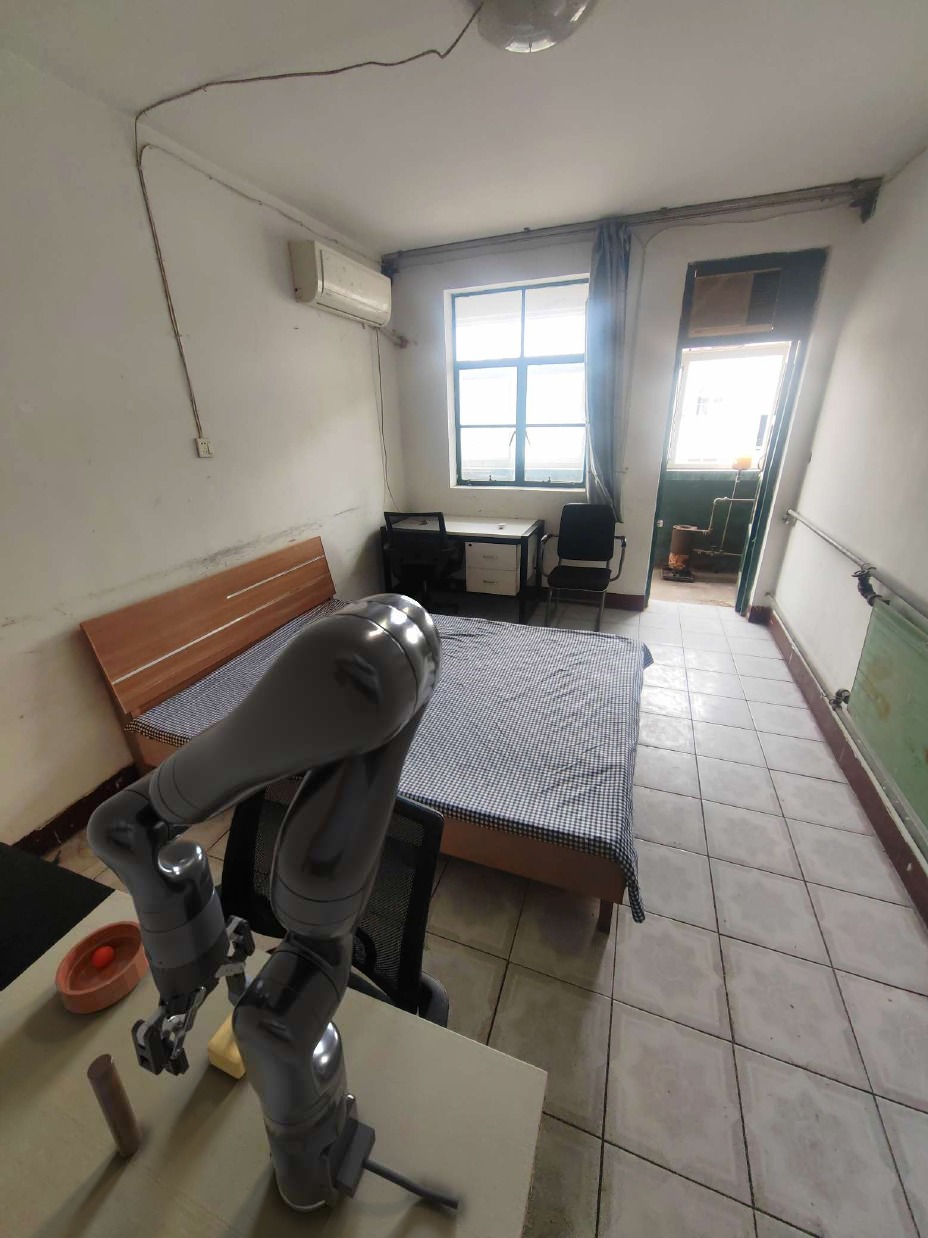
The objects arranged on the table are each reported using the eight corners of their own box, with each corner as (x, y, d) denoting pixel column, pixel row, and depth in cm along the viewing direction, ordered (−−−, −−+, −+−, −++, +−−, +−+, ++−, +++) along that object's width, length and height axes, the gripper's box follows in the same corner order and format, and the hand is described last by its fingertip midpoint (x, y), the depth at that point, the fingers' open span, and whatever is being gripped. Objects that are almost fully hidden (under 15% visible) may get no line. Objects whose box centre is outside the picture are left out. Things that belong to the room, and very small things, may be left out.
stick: (146, 1136, 60) (117, 1058, 55) (128, 1161, 58) (96, 1082, 53) (133, 1128, 61) (102, 1050, 56) (115, 1152, 59) (81, 1074, 54)
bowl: (168, 954, 82) (162, 933, 81) (98, 1028, 72) (89, 1007, 70) (119, 932, 86) (112, 912, 84) (46, 1000, 75) (36, 978, 74)
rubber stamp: (240, 1081, 66) (226, 1025, 62) (209, 1063, 68) (194, 1007, 64) (288, 1007, 74) (279, 954, 70) (259, 993, 76) (249, 940, 72)
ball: (120, 957, 81) (116, 945, 80) (102, 975, 78) (98, 962, 77) (107, 952, 82) (103, 939, 81) (90, 968, 79) (85, 956, 78)
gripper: (150, 1013, 44) (183, 1114, 49) (259, 888, 57) (276, 980, 62) (95, 984, 46) (132, 1084, 52) (211, 871, 59) (231, 960, 64)
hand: (210, 1027), depth 57 cm, fingers open, 8 cm apart
